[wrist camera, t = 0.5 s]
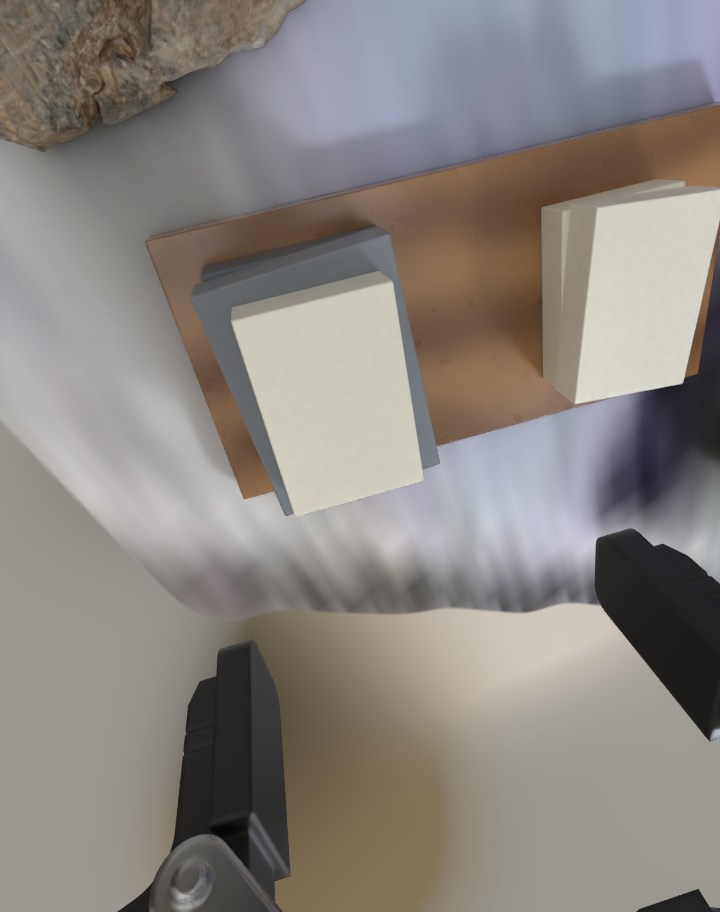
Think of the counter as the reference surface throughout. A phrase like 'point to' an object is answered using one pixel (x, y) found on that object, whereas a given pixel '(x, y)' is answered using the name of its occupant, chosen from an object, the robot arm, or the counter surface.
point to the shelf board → (451, 267)
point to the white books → (624, 286)
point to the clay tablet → (112, 57)
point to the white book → (332, 390)
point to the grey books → (287, 275)
